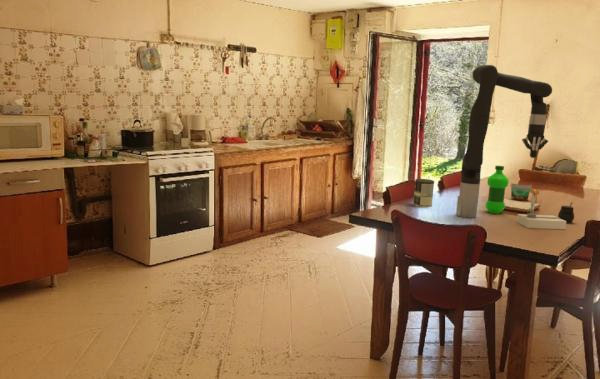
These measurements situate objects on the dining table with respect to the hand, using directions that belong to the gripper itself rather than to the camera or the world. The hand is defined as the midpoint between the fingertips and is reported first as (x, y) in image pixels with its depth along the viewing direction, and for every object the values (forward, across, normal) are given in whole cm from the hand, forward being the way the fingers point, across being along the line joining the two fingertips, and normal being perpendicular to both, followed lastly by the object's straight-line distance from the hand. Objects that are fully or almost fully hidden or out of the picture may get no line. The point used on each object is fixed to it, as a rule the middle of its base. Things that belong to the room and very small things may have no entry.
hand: (532, 157), depth 264 cm
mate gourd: (+31, -17, +8) cm, 36 cm away
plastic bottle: (+31, +13, -8) cm, 35 cm away
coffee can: (+31, +49, -19) cm, 61 cm away
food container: (+31, -18, -47) cm, 59 cm away
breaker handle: (+27, +6, +19) cm, 33 cm away
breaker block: (+31, +1, +19) cm, 36 cm away
